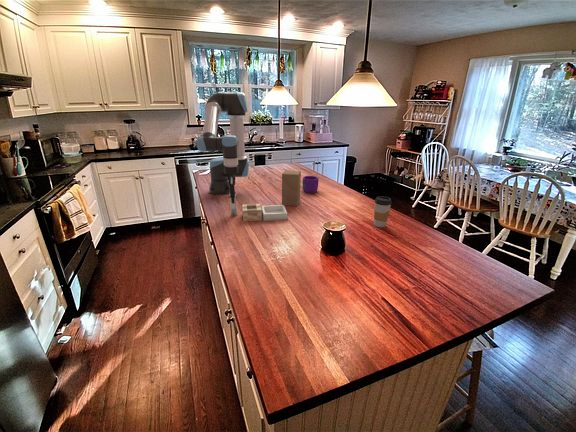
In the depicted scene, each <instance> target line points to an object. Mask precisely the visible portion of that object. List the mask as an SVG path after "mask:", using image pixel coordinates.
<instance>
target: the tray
mask: <svg viewBox="0 0 576 432" xmlns="http://www.w3.org/2000/svg"><path fill="white" fill-rule="evenodd" d="M261 210H262V220H263V222H269V221H270V222H273V221H275V222H276V221H287V220H288V211H287V209H286V206H285V205H282V204H278V205H277V204H276V205H275V204H273V205H261Z"/></svg>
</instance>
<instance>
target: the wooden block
mask: <svg viewBox="0 0 576 432" xmlns="http://www.w3.org/2000/svg"><path fill="white" fill-rule="evenodd" d="M301 174H302V171H301V170H290V169H289V170H287V169H286V170H284V171H283V172H282V174H281V205H284V206H293V207H294V206H295V207H298V205H299V203H300V201H301V184H302V183H301V182H302V181H301V180H302V179H301V178H302V177H301V176H302V175H301Z"/></svg>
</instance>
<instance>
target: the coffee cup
mask: <svg viewBox="0 0 576 432" xmlns="http://www.w3.org/2000/svg"><path fill="white" fill-rule="evenodd" d="M391 205H392V198H391V197H389V196H383V195H382V196H376V198H375V201H374V212H373V225H374V226H375V227H377V228H385V227H386V226H387V222H388V219H389V215H390V210H391Z"/></svg>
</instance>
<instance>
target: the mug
mask: <svg viewBox="0 0 576 432" xmlns="http://www.w3.org/2000/svg"><path fill="white" fill-rule="evenodd" d="M302 190H303V192H304V193H307V194H313V193H316V192H317V191H318V190H319V177H318V176H314V175H305V176H303V177H302Z"/></svg>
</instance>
